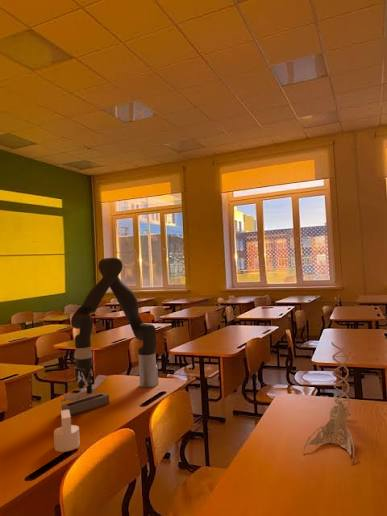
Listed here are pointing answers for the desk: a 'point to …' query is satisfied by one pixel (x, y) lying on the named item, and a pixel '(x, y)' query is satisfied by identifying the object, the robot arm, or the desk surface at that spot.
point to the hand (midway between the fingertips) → (85, 391)
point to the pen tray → (86, 403)
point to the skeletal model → (334, 429)
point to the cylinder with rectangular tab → (66, 434)
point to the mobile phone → (84, 390)
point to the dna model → (340, 376)
